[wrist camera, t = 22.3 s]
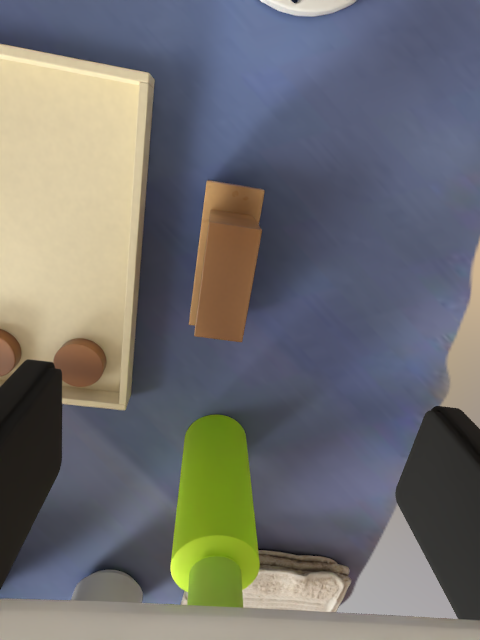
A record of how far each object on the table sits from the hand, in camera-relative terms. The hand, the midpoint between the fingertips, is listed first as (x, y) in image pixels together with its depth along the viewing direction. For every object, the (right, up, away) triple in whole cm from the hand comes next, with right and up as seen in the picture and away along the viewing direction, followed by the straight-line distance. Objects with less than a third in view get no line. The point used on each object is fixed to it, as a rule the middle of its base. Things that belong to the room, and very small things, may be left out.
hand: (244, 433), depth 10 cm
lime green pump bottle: (-2, -9, +29) cm, 30 cm away
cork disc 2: (-13, 0, +24) cm, 27 cm away
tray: (-15, +9, +21) cm, 27 cm away
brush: (-1, +8, +22) cm, 23 cm away
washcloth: (+2, -28, +37) cm, 46 cm away
